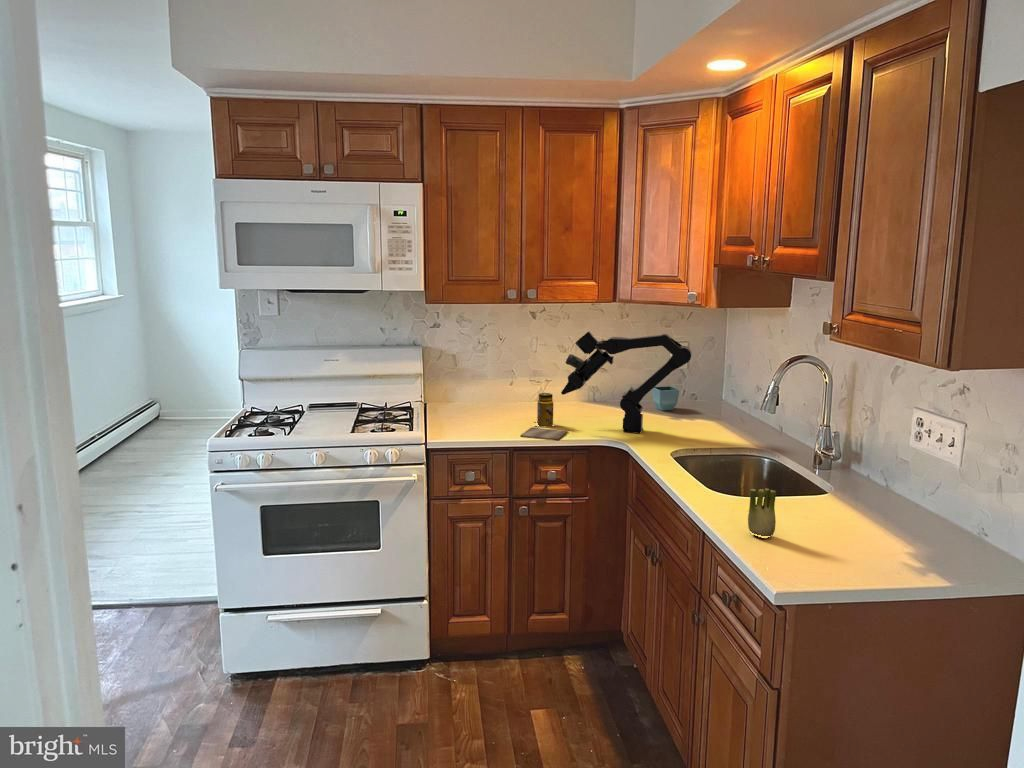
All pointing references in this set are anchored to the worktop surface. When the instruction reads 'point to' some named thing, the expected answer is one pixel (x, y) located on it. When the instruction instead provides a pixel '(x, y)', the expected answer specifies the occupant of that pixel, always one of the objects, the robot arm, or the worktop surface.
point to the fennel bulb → (762, 512)
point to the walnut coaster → (544, 433)
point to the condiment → (545, 410)
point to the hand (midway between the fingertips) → (564, 391)
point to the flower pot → (665, 397)
